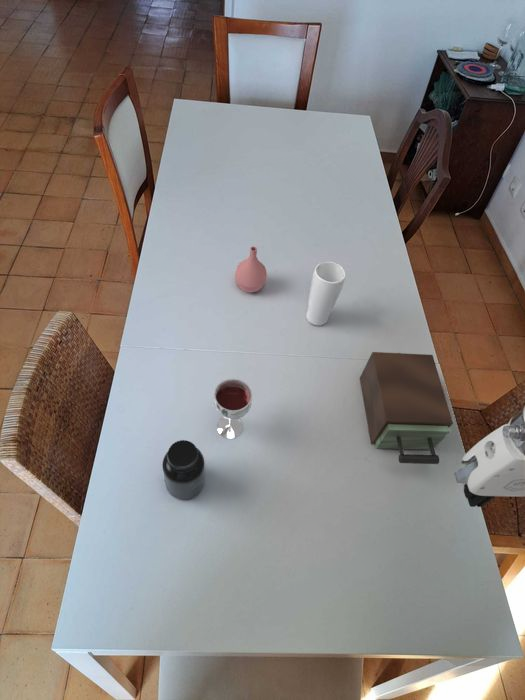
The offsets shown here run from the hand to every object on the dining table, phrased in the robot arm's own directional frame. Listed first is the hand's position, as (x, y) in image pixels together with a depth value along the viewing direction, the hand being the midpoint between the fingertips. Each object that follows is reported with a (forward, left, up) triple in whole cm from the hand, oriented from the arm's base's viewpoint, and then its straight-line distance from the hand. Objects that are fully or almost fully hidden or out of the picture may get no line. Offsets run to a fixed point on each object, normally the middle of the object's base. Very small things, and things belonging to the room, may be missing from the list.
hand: (472, 496), depth 65 cm
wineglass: (+9, +38, -20) cm, 44 cm away
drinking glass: (+43, +28, -20) cm, 55 cm away
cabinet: (+24, +7, -19) cm, 31 cm away
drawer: (+20, +6, -18) cm, 27 cm away
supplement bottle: (-4, +42, -20) cm, 47 cm away
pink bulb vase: (+47, +46, -20) cm, 69 cm away
